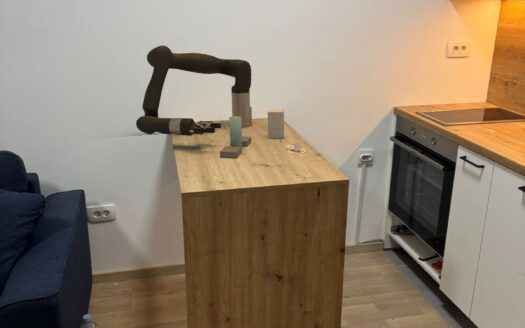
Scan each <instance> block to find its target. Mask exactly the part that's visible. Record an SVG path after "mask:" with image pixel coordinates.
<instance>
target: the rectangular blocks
mask: <svg viewBox="0 0 525 328" xmlns="http://www.w3.org/2000/svg"><path fill="white" fill-rule="evenodd" d="M251 143H252V136H245V135H244V136H243V135H242V147H234V146H230V145H228V146H227V145H225V146H224V147H222V149H221V150H220V151H219V157H220V158H228V159H238V158H239V156H241V154H242V153H243V148H244V147H245V148H247V147H248V146H249V145H250V144H251Z"/></svg>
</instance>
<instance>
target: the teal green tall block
mask: <svg viewBox="0 0 525 328" xmlns="http://www.w3.org/2000/svg"><path fill="white" fill-rule="evenodd" d="M242 128H243V127H242V125H241V117H240V116H232V115H231V116H229V141H230V143H229V144H230V145H229V146H234V147H242V136H243V133H242V132H243V131H242ZM242 148H243V147H242Z"/></svg>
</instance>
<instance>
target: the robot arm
mask: <svg viewBox="0 0 525 328" xmlns="http://www.w3.org/2000/svg"><path fill="white" fill-rule="evenodd" d="M146 61H147V63H148V64H149V66H151V67H152V68H153V71H152V75H151V77H150V80H149V83H148V85H147V87H146V89H145V92H144V96H143V103H142V110H143V112H144V115H142V116H140V117H138V118H137V120H136V121H135V126H136V129H137V130H138V131H140V132H142V133H144V134H146V135H153V134H155V133H160V134H164V135H175V136H187V137H189V136H191V137H192V136H193V135H200V136H201V135H204V134H215V133H216V129H221V128H222V123H220V122H213V120H210V121H209V120H199V121H197V122H195V119H193V118H192V117H189V118H188V117H174V118H173V117H159V107H160V103H161V100H162V99H161V97H162V93H163V88H164V85H165V82H166V79H167V74H168V72H169V70H170V69H171V70H179V71H184V72H189V73H195V74H202V75H203V74H204V75H214V74H216V75H217V74H218V75H225V76H229V77H232V78H234V84H233V85H232V86H231V89H230V91H231V116H240V117H241V125H242V128H246V127H251V126H252V125H253V117H252V116H253V114H252V113H253V111H252V106H251V94H250V89H251V86H252V67H251V64H250V63H249V61H247V60H244V59H240V58H239V59H238V58H237V59H232V58H231V59H230V58H229V59H227V58H220V57H216V56H214V55H210V54H205V53H200V52H185V53H181V52H180V53H178V52H177V53H176V52H173V51H172V50H171V49H170V48H169V47H168V46H167V45H158V46H156V47H154V48H151V49H150V51H149V52H148V53H147V55H146Z"/></svg>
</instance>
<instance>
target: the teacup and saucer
mask: <svg viewBox="0 0 525 328" xmlns="http://www.w3.org/2000/svg"><path fill="white" fill-rule="evenodd" d="M292 143H293V145H290V144H289V145H286V151H287V153H290V154H296V155H297V154H298V155H299V154H300V155H301V154H304V153H306V152H307V150H306V149H305V148H303V145H302V144H301V143H302V142H301V141H293V142H292ZM301 149H302V150H301ZM303 150H304V152H303ZM292 151H294V152H292ZM300 151H302V152H300Z"/></svg>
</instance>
